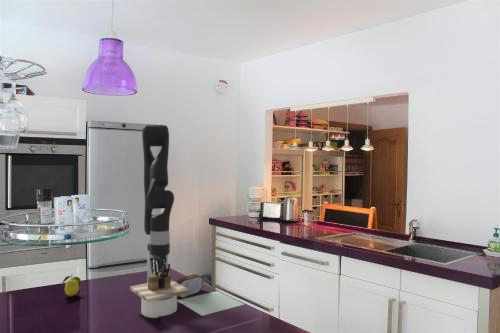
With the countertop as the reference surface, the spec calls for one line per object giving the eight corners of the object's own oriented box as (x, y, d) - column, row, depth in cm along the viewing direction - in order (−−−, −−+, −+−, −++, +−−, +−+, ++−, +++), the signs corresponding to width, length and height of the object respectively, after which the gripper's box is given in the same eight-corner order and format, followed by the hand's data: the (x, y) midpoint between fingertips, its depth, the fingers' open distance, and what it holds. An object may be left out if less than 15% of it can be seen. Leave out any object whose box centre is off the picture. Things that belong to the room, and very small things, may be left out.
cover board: (129, 289, 154) (129, 273, 153) (169, 281, 164) (169, 266, 164) (147, 302, 140) (147, 284, 140) (189, 292, 150) (189, 276, 150)
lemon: (61, 299, 163) (62, 275, 163) (63, 295, 169) (63, 272, 169) (79, 298, 165) (79, 274, 165) (80, 293, 171) (80, 270, 171)
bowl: (136, 309, 153) (136, 293, 153) (167, 302, 161) (167, 286, 161) (150, 320, 143) (150, 302, 143) (182, 312, 151) (182, 295, 151)
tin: (199, 290, 177) (199, 271, 177) (204, 292, 175) (204, 273, 175) (173, 299, 165) (173, 279, 165) (178, 301, 163) (178, 280, 163)
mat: (176, 301, 162) (176, 300, 162) (217, 292, 174) (217, 291, 174) (201, 317, 146) (201, 315, 146) (244, 305, 159) (244, 304, 159)
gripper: (143, 240, 155) (143, 283, 155) (158, 246, 144) (158, 293, 144) (160, 237, 160) (160, 280, 160) (177, 243, 149) (176, 289, 149)
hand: (159, 286), depth 152 cm, fingers closed on cover board, 3 cm apart
